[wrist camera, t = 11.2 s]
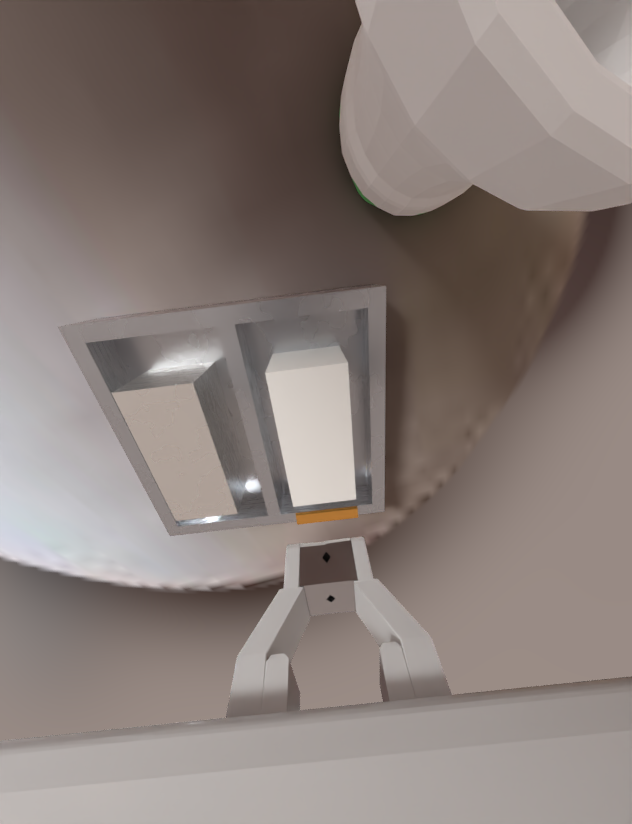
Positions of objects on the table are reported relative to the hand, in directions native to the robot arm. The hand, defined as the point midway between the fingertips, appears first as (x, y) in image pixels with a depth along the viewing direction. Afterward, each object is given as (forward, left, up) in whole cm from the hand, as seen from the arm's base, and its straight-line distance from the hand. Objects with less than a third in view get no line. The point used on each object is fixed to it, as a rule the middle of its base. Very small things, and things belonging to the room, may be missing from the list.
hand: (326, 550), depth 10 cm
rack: (0, -4, -12) cm, 13 cm away
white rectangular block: (0, 0, -11) cm, 11 cm away
